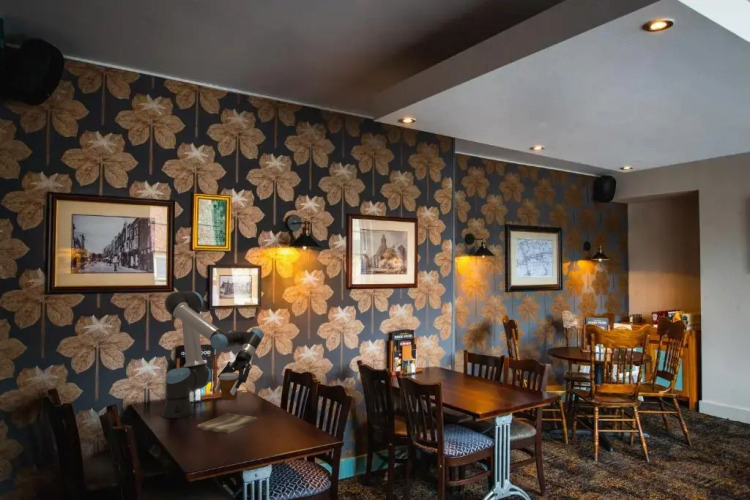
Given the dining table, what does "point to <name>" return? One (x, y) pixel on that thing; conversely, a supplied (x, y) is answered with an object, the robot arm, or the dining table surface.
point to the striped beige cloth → (227, 423)
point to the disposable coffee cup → (227, 385)
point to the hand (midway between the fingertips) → (224, 392)
